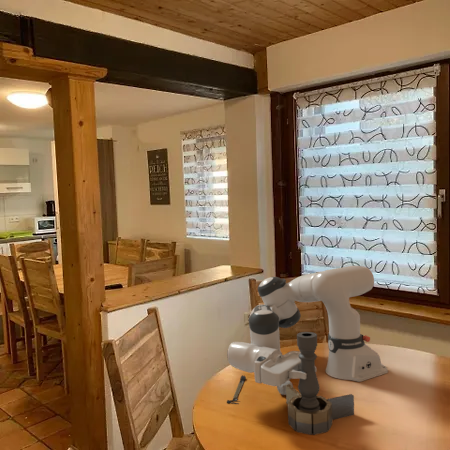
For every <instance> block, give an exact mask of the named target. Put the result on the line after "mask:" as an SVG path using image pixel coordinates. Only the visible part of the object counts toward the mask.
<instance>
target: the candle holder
mask: <svg viewBox="0 0 450 450" xmlns="http://www.w3.org/2000/svg"><path fill="white" fill-rule="evenodd" d="M296 339H297V340H296V346H297V347H298V350H299V351H300V352H301V353H300V354H299V355H298V356H299V358H300V360H301V371H304V372H307V373H308V376H307V378H306V379H301V378H300V379H299V381H298V386H297V389H298V390H297V391H298V392H299V393H300V394H301V396H302V399H301V400H300V403H299V404H300V406H299V410H303V411H308V412H315V411H319V410H320V407H319V402H318V400H317V399H316V398H317V396H318V395H319V393H320V392H319V391H320V383H319V379H318V377H317V371H316V372H315V367H316V365H315V363H316V362H315V361H316V359H317V358H318V356H317V353H315V352H316V350H317V347H318V333H315V332H312V331H302V332H298V333H297V334H296Z"/></svg>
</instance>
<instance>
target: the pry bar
mask: <svg viewBox="0 0 450 450" xmlns="http://www.w3.org/2000/svg"><path fill="white" fill-rule="evenodd" d="M246 379H247V377H246V376H245V375H241V376H240V378H239V382H238V384H237V387H236V390H235V392H234V396H233V397H232V400H230V399H227V400H226V404H232V405H240V403H241V401H240V400H239V398H238V397H239V395H240V392H241V389H242V388H243V386H244V383H245V380H246Z"/></svg>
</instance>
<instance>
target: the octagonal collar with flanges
mask: <svg viewBox="0 0 450 450" xmlns="http://www.w3.org/2000/svg"><path fill="white" fill-rule="evenodd" d="M285 396H286V398H285V399H286V400H285V401H286V404H287V418H288V419H287V421H288V425H289V426H290V428H292V429H293V430H294V431H295V432H297V433H300V434H306V435H309V436H311V435H313V436H315V435H319V434H323V433H327V432H329V431H330V429H331V427H332V426H333V420H337V419H342V418H346V417H351V416H355V396H354V394H352V393H349V394H345V395H340V396H335V397H330V398H329V397H328V398H326V396H325V397H324V396H323V395H317V398H316V399H317V400H318V402H319V407H320V410H319V411H315V412H308V411H303V410H299V406H300V404H299V403H300V400H301V399H302V396H301V394H300V392H299V390H297V389H296V388H294V386H293V387H292V386H291V385H290V384H288V385H286V395H285Z"/></svg>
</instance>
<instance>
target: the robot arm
mask: <svg viewBox="0 0 450 450" xmlns="http://www.w3.org/2000/svg"><path fill="white" fill-rule="evenodd" d="M374 285H375V278H374V275H373V272H372V270H371V269H370V268H368V267H367V266H362V265H350V266H349V265H348V266H343V267H337V268H331V269H326V270H324V271H318V272H313V273H312V272H311V273H307V274H302V275H301V276H298V277H296V278H294V279H292V280H290V281H289V282H287V279H285V278H280V277H279V276H271V277H266V278H265V279H263V280H262V281H261V282H260V283H259V284H258V286H257V292H258V295H259V297H260V298H261V300H262V302H263V304H258V305H256V306H255V307H254V308H253V309H252V310H251V312H250V314H249V317H248V326H249V327H248V328H249V337H250V343H249V342H243V341H232V342H231V343H230V344H229V345H228V349H227V355H226V356H227V362H228V364H229V365H230V366H231V367H234V368H235V369H238V370H240V371H243V372H246V373H251V374H252V373H253V374H254V381H255V383H258V384H264V385H267V386H271V387H277V386H280V385H282V384H283V383H285V382H287V381H288V380H289V381H290V380H291V379H292V380H293V379H295V380H296V379H299V380H300V378H301V379H306V378H307V376H308V373H307V372H304V371H301V360H300V358H299V356H298V355H299V354H300V353H301V352H300V350H299V351H298V350H290V351H289V352H286V353H284V354H283V352H282V351H281V341H280V339H281V338H280V328H282V329H289V328H291V327H293V326H295V325H296V324H297V323H298V322H300V319H301V312H300V309H299V307H297V304H296V302H299V303H313V302H314V303H315V302H322V304H324V306H325V308H326V311H327V316H328V331H329V332H328V335H327V345H328V347H327V348H328V357H327V364H326V367H325V373H326V374H327V375H328V376H330V377H331V378H336V379H339V380H345V381H346V380H347V381H354V382H357V383H358V382H363V381H367V380H369V379H372V378H373V379H374V378H375V377H379V376H381V375H385V374H388V373H389V369H388V367H387V366H386V365H384V364H383V363H382V361H381V357H380V354H378V352H377V351H376V350H374V349H373V348H371V347H370V346H369V345H367V344H366V343H370V341H371V337H370V336H368V335H367V334H365V335H363V334H362V333H361V315H360V314H359V311H357V310H356V309H354V307H352V306H351V304H350V298H352V297H357V296H361V295H363V294H366V293H368V292H370V291H371V290H372V289H373V287H374ZM365 342H366V343H365ZM315 372H316V373H317V366H315Z"/></svg>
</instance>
